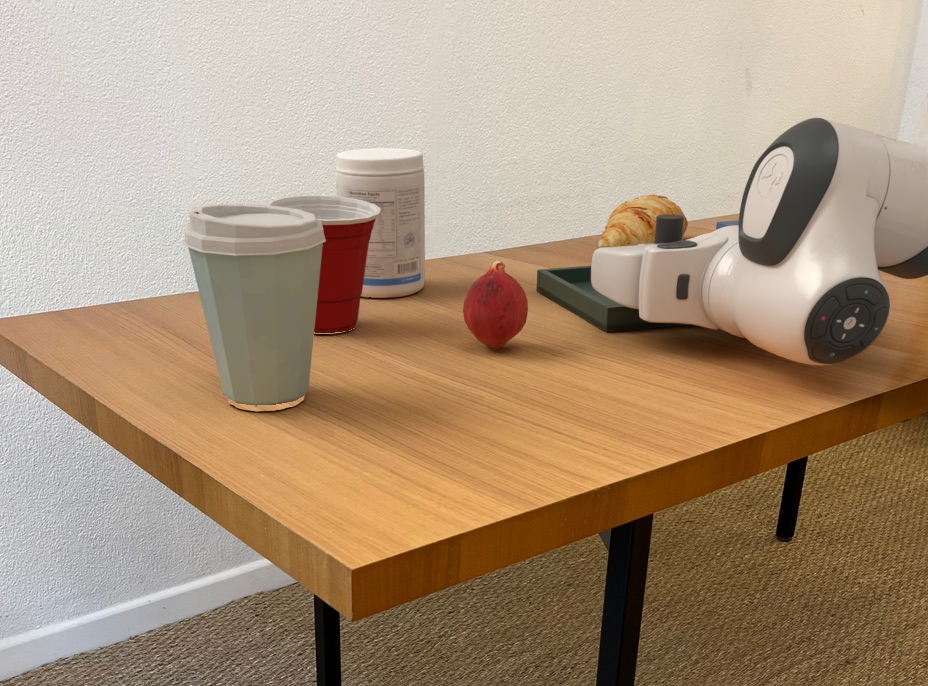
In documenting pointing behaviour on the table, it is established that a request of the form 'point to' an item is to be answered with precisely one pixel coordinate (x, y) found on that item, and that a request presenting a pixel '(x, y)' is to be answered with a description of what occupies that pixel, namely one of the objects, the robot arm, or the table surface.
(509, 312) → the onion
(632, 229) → the croissant
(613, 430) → the table surface
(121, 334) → the table surface
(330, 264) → the plastic cup
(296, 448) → the table surface
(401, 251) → the supplement tub
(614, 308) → the tray
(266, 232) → the disposable coffee cup
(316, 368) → the table surface
